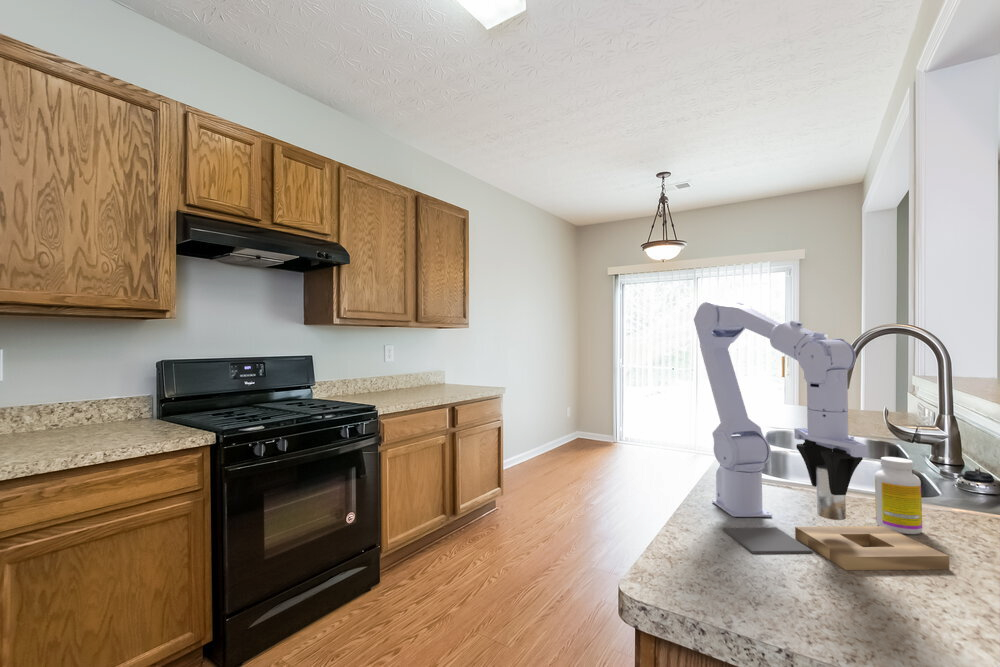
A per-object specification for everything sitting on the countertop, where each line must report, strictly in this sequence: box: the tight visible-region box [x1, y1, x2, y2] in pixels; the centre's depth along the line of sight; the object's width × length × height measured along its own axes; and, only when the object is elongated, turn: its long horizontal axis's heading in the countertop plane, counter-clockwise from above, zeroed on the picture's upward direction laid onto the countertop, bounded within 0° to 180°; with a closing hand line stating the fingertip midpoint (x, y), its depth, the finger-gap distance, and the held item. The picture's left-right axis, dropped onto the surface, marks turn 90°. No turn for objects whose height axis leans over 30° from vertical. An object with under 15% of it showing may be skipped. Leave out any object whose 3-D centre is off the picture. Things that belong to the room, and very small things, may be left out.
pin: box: [815, 465, 847, 521], centre depth 80 cm, size 4×4×8 cm
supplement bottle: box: [874, 456, 923, 535], centre depth 88 cm, size 7×7×13 cm
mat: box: [722, 526, 814, 555], centre depth 83 cm, size 10×10×1 cm
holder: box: [794, 525, 950, 571], centre depth 78 cm, size 12×16×2 cm
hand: (828, 490), depth 80 cm, fingers closed on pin, 4 cm apart
